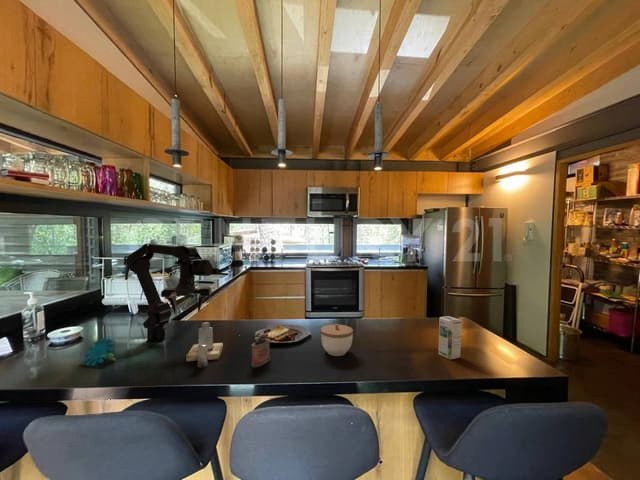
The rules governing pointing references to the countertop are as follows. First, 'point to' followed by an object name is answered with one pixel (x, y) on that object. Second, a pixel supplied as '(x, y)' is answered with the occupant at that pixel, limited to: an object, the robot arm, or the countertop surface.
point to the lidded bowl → (336, 339)
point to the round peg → (202, 355)
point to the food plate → (283, 333)
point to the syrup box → (449, 337)
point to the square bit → (206, 335)
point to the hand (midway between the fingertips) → (187, 312)
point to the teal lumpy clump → (99, 352)
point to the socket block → (211, 354)
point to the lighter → (260, 350)
